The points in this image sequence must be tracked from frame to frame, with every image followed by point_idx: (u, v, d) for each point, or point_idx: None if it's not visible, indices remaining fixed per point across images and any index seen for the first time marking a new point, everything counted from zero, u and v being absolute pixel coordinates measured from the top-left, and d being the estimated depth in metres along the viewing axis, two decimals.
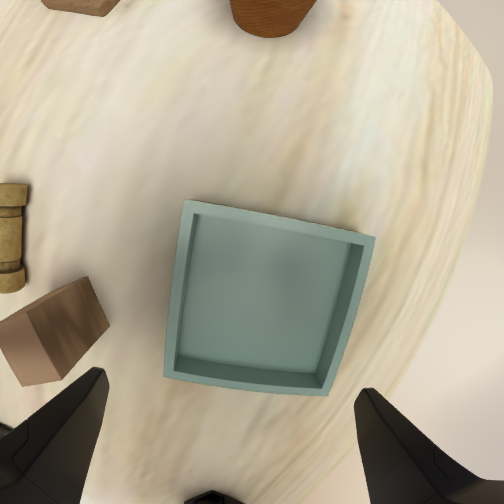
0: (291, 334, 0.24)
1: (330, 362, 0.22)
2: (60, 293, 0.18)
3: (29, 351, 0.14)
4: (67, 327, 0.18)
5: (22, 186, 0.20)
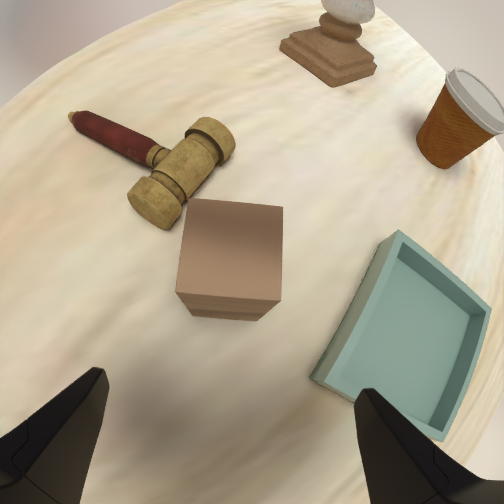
0: (422, 381, 0.21)
1: (453, 405, 0.18)
2: None
3: (249, 248, 0.15)
4: None
5: None
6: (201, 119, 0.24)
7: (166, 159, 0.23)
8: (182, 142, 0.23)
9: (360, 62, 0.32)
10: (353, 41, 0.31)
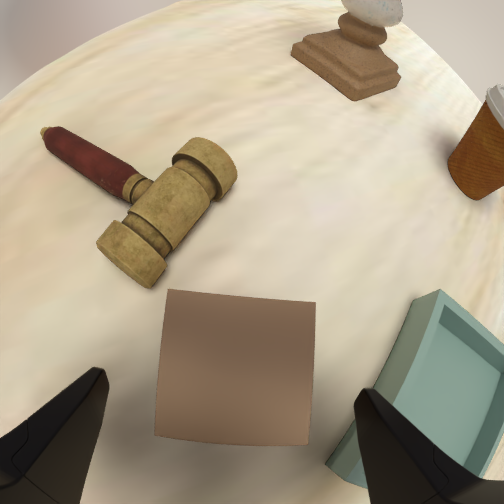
0: (448, 452, 0.15)
1: (477, 475, 0.12)
2: None
3: (263, 374, 0.09)
4: None
5: (236, 176, 0.20)
6: (193, 139, 0.19)
7: (145, 196, 0.17)
8: (167, 172, 0.18)
9: (384, 72, 0.27)
10: (377, 48, 0.26)
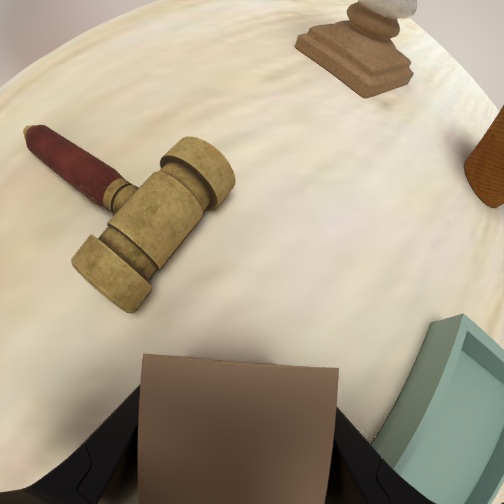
0: (459, 479, 0.12)
1: (487, 500, 0.09)
2: None
3: (270, 458, 0.06)
4: None
5: (234, 182, 0.18)
6: (184, 139, 0.16)
7: (126, 207, 0.14)
8: (152, 178, 0.15)
9: (397, 67, 0.24)
10: (389, 41, 0.23)
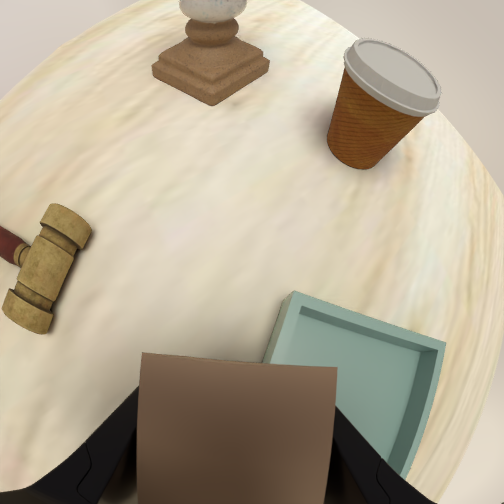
0: None
1: (402, 464, 0.16)
2: None
3: (268, 458, 0.06)
4: None
5: (89, 226, 0.21)
6: (49, 206, 0.20)
7: (23, 265, 0.18)
8: (34, 241, 0.19)
9: (243, 64, 0.29)
10: (230, 42, 0.27)
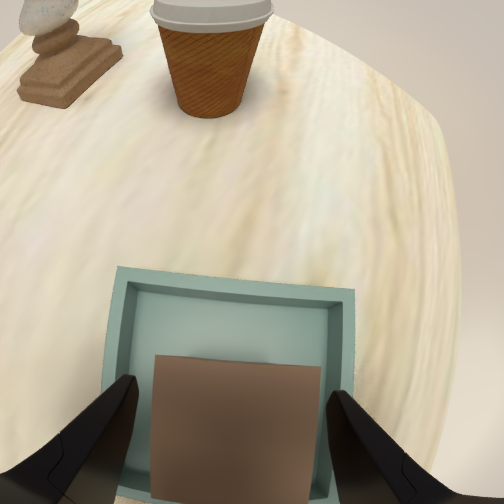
0: None
1: None
2: None
3: (262, 443, 0.07)
4: None
5: None
6: None
7: None
8: None
9: (89, 58, 0.24)
10: (74, 42, 0.22)
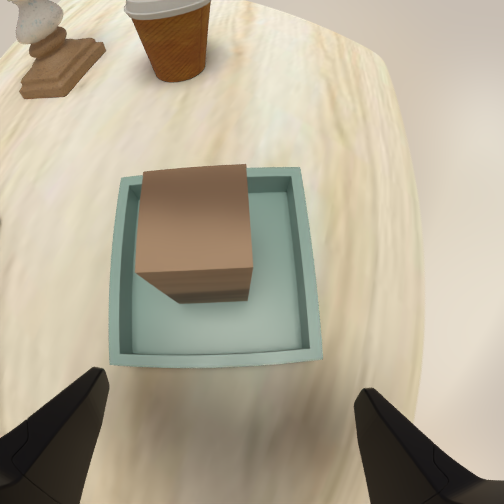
0: (253, 300, 0.21)
1: (306, 309, 0.19)
2: None
3: (211, 213, 0.13)
4: None
5: None
6: None
7: None
8: None
9: (79, 54, 0.28)
10: (64, 44, 0.26)
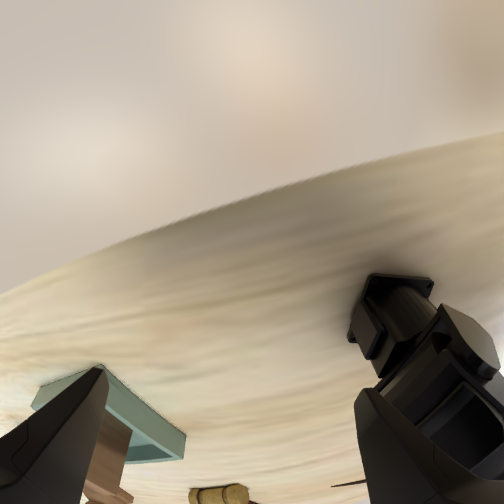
0: None
1: None
2: None
3: None
4: None
5: (188, 495, 0.37)
6: None
7: None
8: None
9: None
10: (90, 499, 0.37)
